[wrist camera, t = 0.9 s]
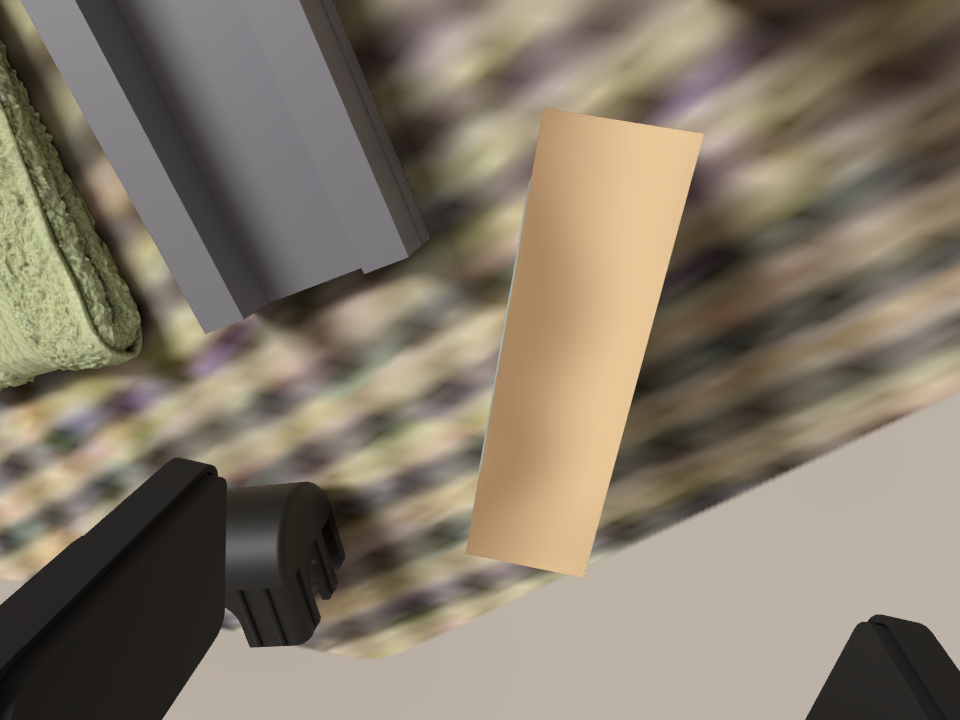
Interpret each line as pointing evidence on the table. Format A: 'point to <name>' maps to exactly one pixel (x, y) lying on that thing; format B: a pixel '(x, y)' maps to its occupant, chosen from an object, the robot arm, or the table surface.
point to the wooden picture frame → (576, 332)
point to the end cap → (279, 560)
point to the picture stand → (238, 141)
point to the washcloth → (52, 259)
